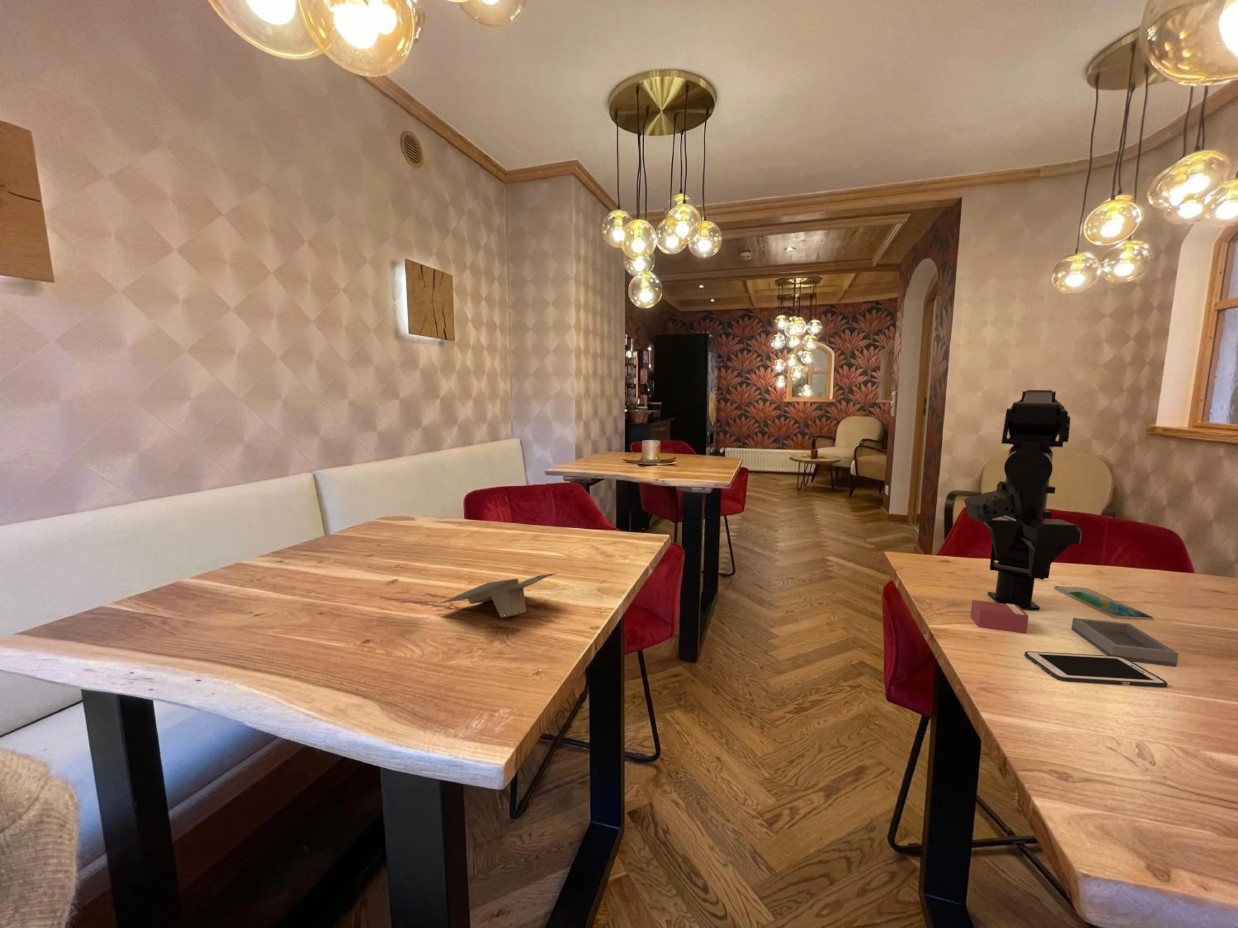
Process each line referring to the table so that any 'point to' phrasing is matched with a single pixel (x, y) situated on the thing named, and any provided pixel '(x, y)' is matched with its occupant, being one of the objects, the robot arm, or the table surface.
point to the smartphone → (1103, 603)
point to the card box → (999, 616)
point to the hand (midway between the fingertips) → (1016, 568)
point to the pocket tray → (1124, 641)
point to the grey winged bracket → (501, 595)
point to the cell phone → (1094, 669)
